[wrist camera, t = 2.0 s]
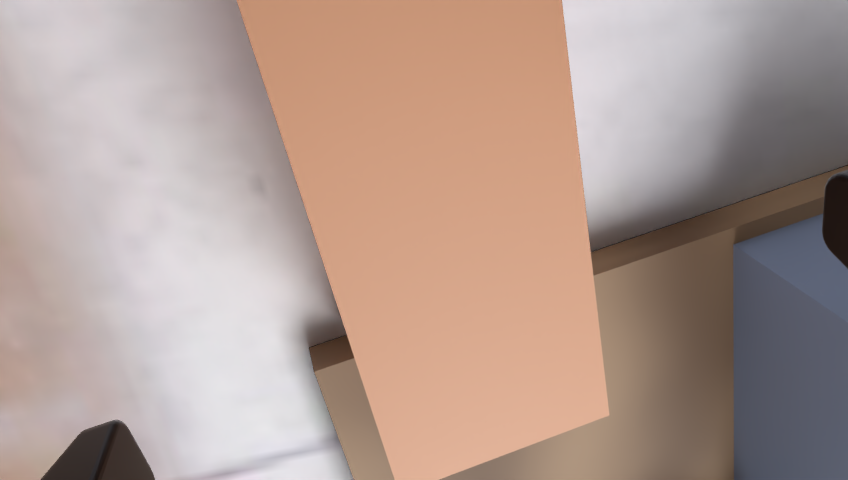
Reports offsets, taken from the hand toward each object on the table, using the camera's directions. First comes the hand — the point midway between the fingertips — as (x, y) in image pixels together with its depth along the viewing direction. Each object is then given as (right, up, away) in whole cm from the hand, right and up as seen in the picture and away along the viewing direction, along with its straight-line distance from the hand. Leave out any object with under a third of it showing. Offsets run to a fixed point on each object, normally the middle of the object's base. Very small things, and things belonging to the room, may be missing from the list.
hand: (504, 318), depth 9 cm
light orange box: (-2, +4, +7) cm, 8 cm away
